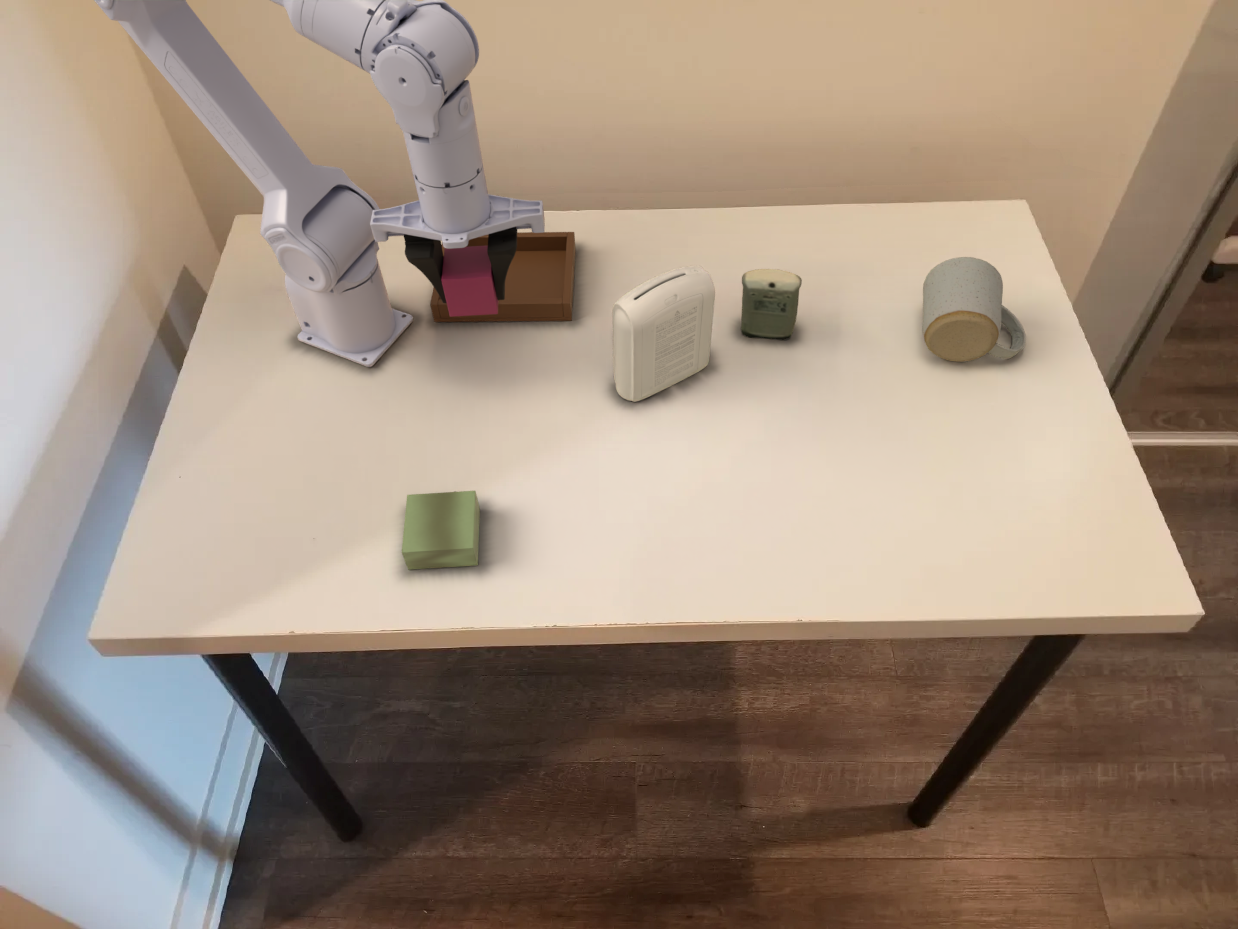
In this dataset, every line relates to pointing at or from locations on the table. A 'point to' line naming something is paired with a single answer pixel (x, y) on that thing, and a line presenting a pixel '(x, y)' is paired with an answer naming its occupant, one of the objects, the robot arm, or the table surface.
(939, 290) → the ceramic mug
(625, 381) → the photo printer
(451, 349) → the table surface
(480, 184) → the robot arm
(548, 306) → the tray
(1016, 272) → the table surface
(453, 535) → the base slab
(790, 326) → the grey-green labelled box
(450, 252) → the pink block
